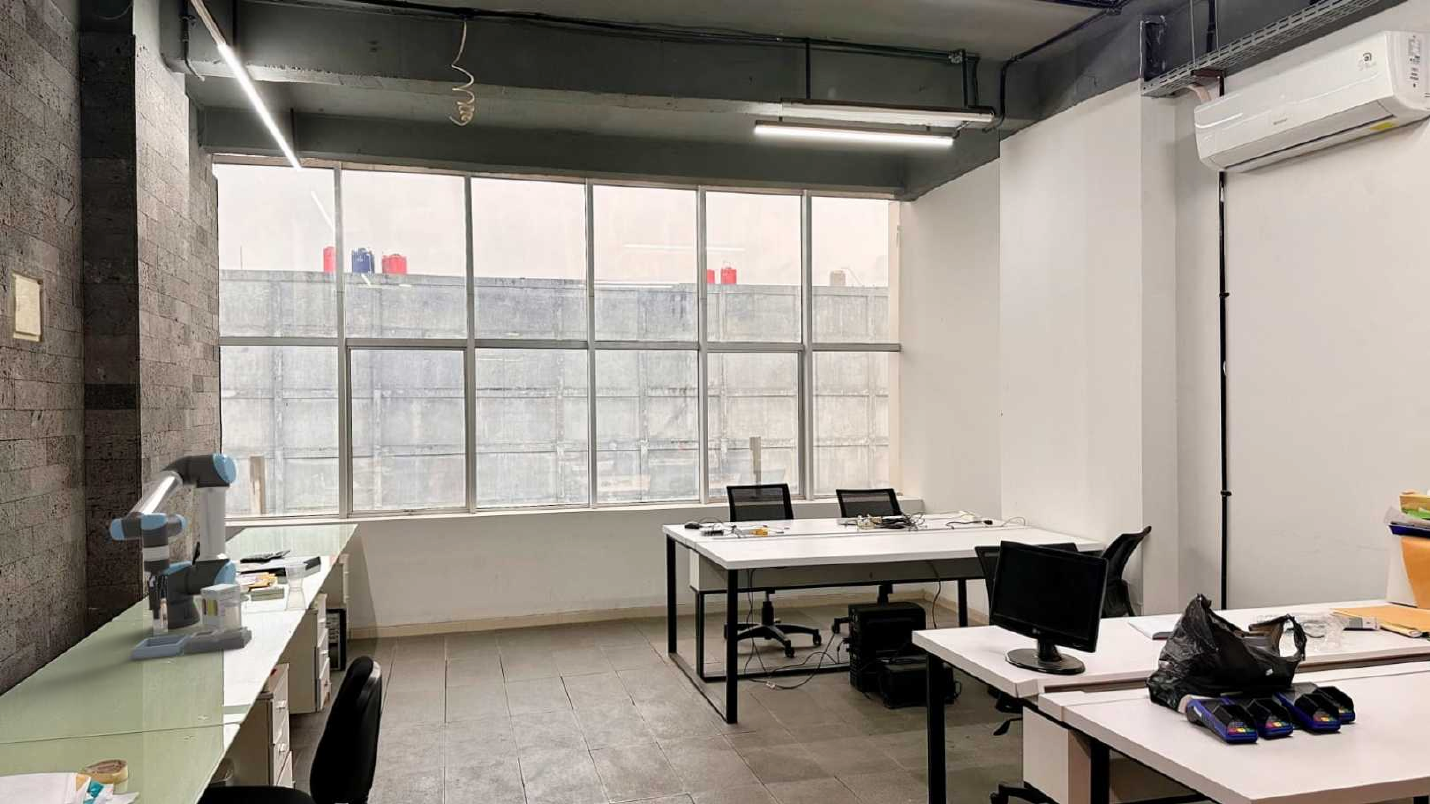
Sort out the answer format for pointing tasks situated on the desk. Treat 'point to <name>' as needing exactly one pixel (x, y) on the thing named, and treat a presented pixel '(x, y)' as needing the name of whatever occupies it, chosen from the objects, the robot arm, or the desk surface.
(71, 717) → the desk surface
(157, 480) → the robot arm
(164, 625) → the fuse
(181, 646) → the parts tray
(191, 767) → the desk surface
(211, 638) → the fuse holder
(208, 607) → the supplement box
